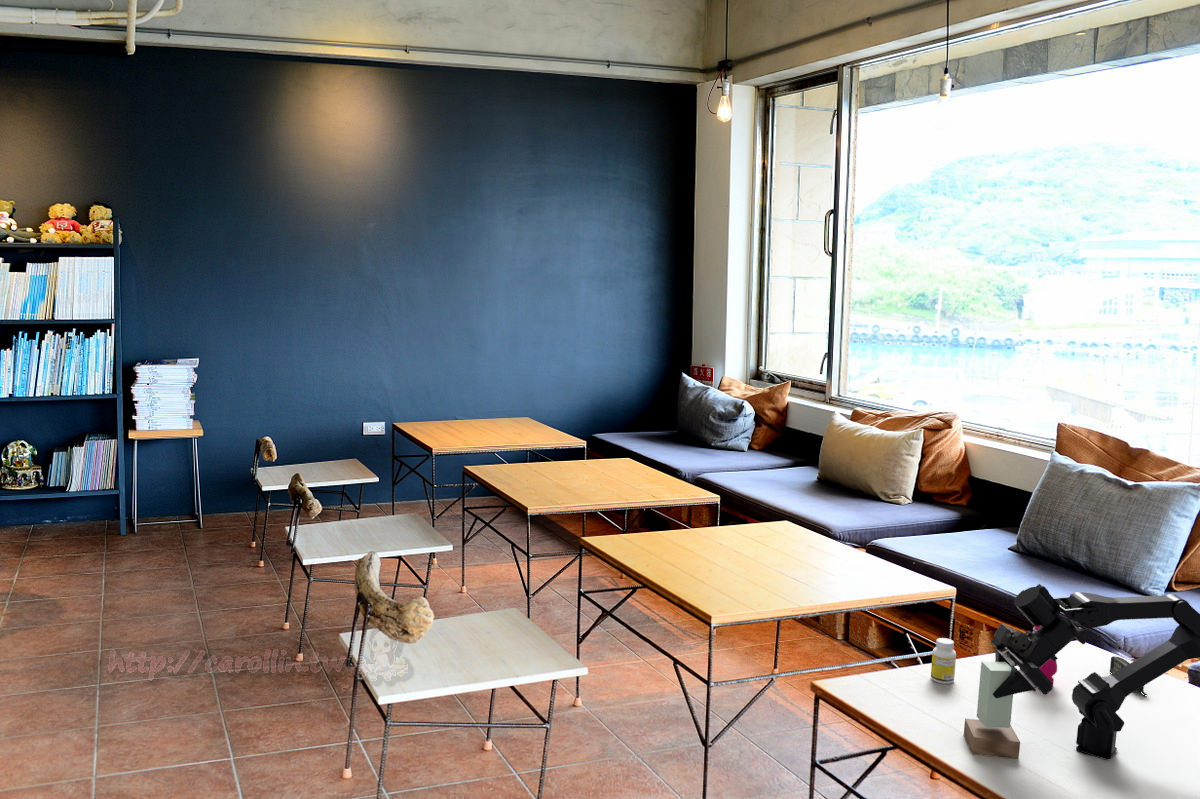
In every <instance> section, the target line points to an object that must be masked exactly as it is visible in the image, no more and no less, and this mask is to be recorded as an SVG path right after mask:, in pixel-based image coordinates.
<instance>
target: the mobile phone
mask: <svg viewBox="0 0 1200 799" xmlns="http://www.w3.org/2000/svg"><path fill="white" fill-rule="evenodd" d="M1109 664H1110V665H1109V673H1110V672H1111V673H1112V674H1114V673H1115V672H1117V671H1119V670H1120V669H1122V668H1123V667H1125V666H1127V665H1128V664H1130V662H1129V661H1128V660H1126V659H1124V658H1122V657H1119V656H1111V657H1110V663H1109ZM1111 673H1110V674H1111ZM1112 674H1111V675H1112ZM1144 688H1145V685H1144V686H1143V687H1141V688H1139V689H1138V690H1136V693H1140V692H1142V693H1143V694H1144V695H1147V696H1148V694H1147V693H1146V692H1144ZM1144 695H1143V696H1144Z"/></svg>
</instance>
